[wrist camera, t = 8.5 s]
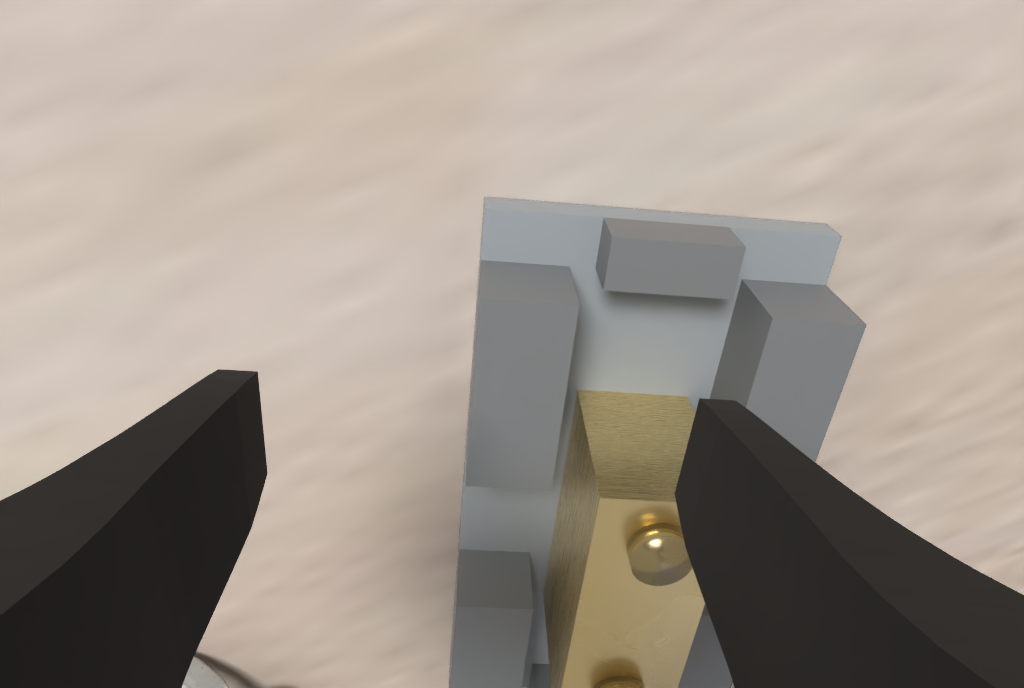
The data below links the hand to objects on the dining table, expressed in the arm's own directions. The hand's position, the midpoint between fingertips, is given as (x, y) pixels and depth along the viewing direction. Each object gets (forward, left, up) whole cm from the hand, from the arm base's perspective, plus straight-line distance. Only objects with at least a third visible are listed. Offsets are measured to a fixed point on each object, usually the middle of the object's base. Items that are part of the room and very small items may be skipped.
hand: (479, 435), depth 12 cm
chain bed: (-5, +9, -10) cm, 14 cm away
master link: (-5, +9, -9) cm, 14 cm away
